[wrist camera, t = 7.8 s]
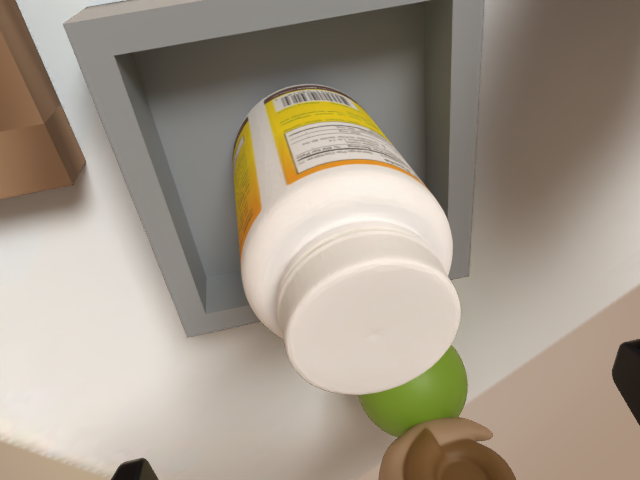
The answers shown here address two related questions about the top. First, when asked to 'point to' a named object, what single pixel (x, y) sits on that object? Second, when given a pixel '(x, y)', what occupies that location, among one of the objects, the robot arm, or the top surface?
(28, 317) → the top surface
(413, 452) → the snail figurine
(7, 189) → the wooden rectangular frame
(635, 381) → the robot arm
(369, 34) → the parts tray
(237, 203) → the supplement bottle
